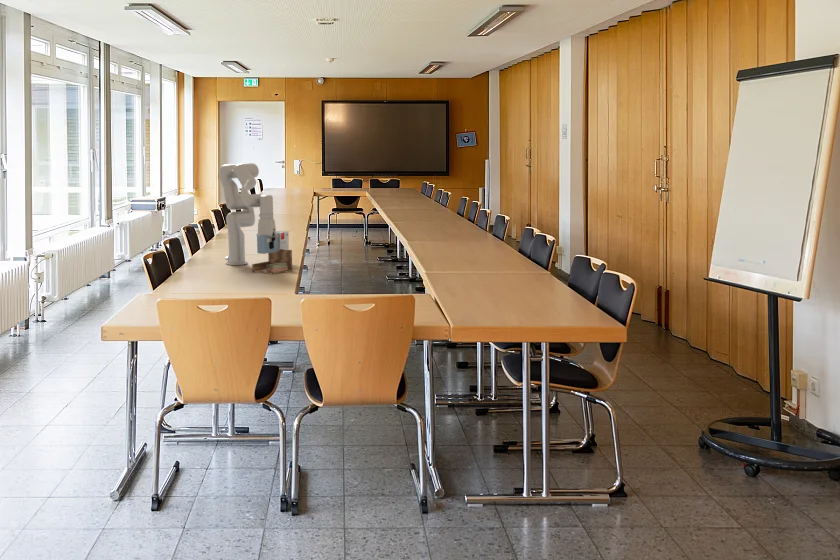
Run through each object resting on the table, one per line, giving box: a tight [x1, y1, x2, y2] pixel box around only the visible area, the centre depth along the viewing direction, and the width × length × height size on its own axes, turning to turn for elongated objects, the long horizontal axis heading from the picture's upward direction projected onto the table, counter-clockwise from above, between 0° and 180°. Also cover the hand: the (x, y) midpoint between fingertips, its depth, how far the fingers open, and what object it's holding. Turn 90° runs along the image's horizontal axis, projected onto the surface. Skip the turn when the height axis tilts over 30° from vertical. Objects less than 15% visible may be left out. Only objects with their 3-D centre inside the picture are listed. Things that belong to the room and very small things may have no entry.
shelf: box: [251, 249, 293, 275], centre depth 502 cm, size 16×16×12 cm
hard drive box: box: [267, 230, 290, 261], centre depth 526 cm, size 16×8×20 cm, turn 168°
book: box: [256, 235, 278, 255], centre depth 501 cm, size 5×12×10 cm, turn 150°
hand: (267, 248), depth 501 cm, fingers closed on book, 5 cm apart
